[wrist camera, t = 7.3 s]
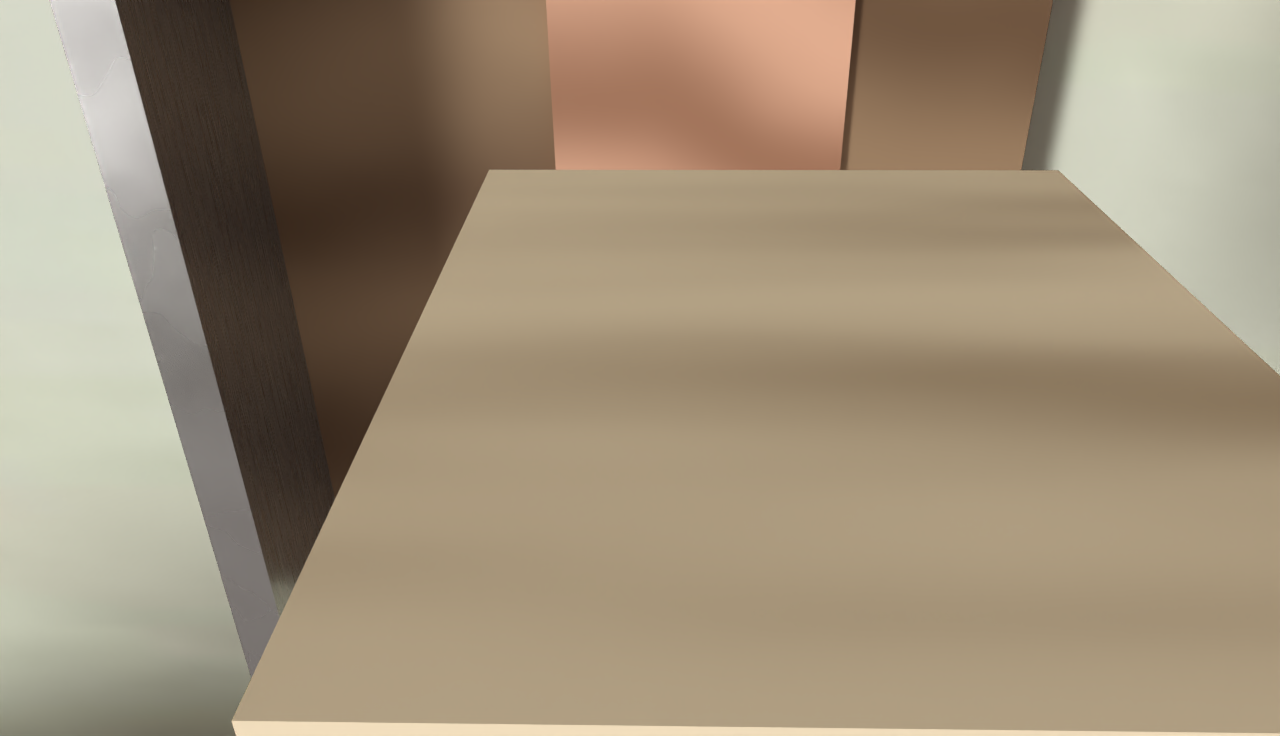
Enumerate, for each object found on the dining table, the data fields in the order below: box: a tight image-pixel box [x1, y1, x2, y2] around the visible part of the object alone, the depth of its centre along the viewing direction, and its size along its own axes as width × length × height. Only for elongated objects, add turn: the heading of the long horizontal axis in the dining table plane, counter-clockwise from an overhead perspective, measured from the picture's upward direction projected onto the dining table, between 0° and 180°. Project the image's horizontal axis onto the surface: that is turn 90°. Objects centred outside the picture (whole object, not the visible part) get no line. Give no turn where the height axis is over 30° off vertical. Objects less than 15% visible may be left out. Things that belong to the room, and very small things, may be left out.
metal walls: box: [49, 0, 335, 678], centre depth 23 cm, size 24×20×5 cm
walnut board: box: [230, 0, 1053, 498], centre depth 25 cm, size 24×20×1 cm
